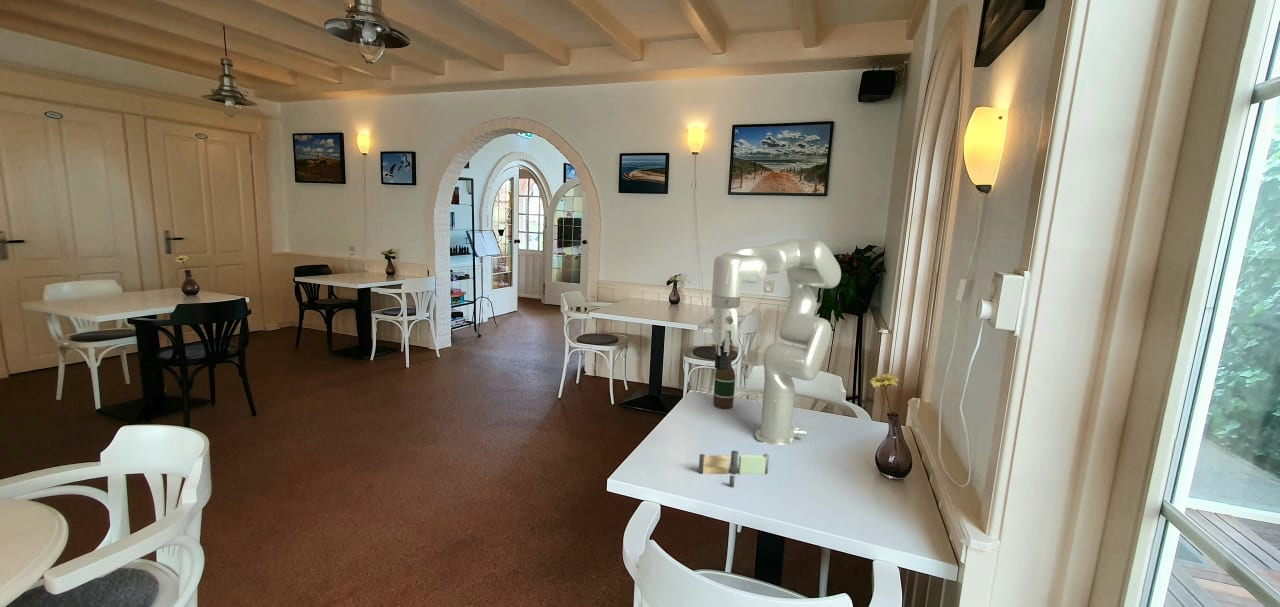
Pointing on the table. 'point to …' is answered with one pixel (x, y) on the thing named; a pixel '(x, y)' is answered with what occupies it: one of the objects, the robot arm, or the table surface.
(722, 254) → the robot arm
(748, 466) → the hinged panel
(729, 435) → the table surface
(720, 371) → the beer bottle
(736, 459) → the wooden bar grey posts
